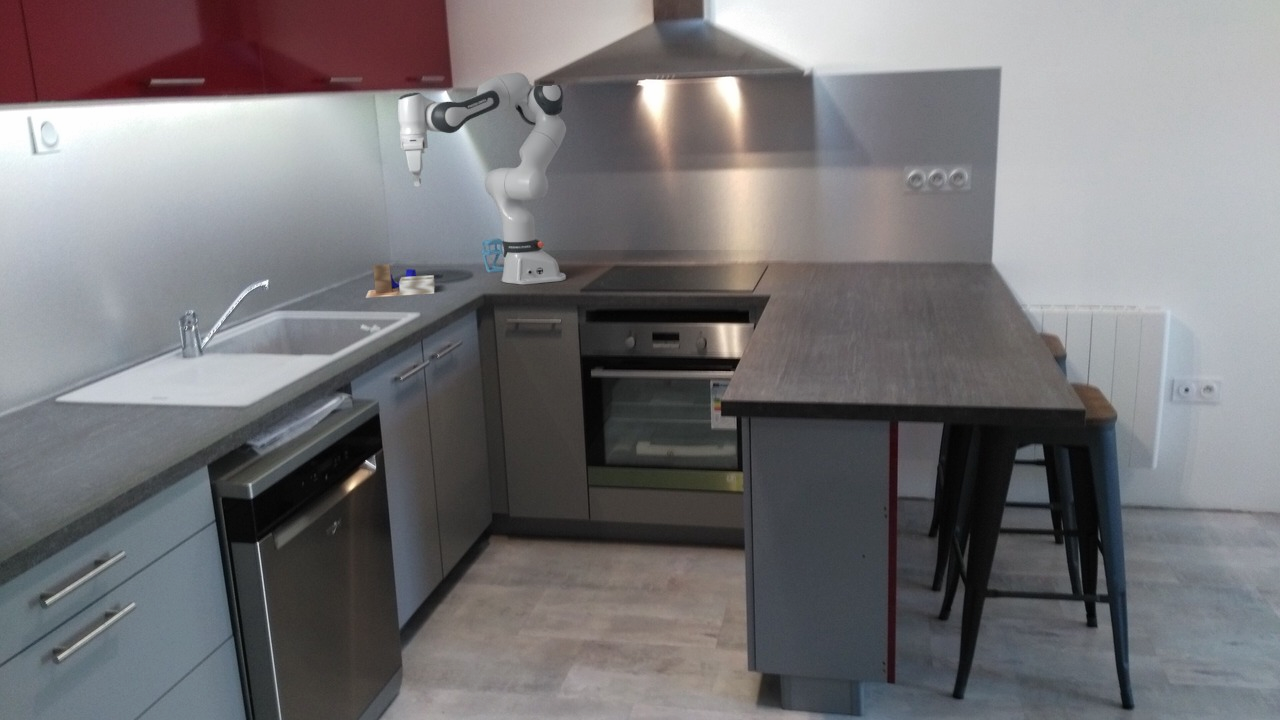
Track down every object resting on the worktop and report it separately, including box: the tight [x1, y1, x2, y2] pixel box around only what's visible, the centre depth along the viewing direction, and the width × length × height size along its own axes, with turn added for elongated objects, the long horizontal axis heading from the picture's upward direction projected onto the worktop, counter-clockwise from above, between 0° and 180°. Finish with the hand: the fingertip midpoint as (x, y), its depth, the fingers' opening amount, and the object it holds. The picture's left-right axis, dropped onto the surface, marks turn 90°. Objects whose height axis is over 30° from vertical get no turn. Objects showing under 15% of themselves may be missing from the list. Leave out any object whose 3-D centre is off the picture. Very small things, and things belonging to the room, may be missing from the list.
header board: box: [365, 274, 436, 299], centre depth 354 cm, size 22×13×5 cm, turn 99°
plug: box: [372, 263, 393, 294], centre depth 353 cm, size 5×3×9 cm, turn 99°
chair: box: [480, 238, 504, 273], centre depth 396 cm, size 8×8×12 cm
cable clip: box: [391, 268, 417, 289], centre depth 366 cm, size 12×4×6 cm, turn 144°
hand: (417, 185), depth 357 cm, fingers open, 8 cm apart
